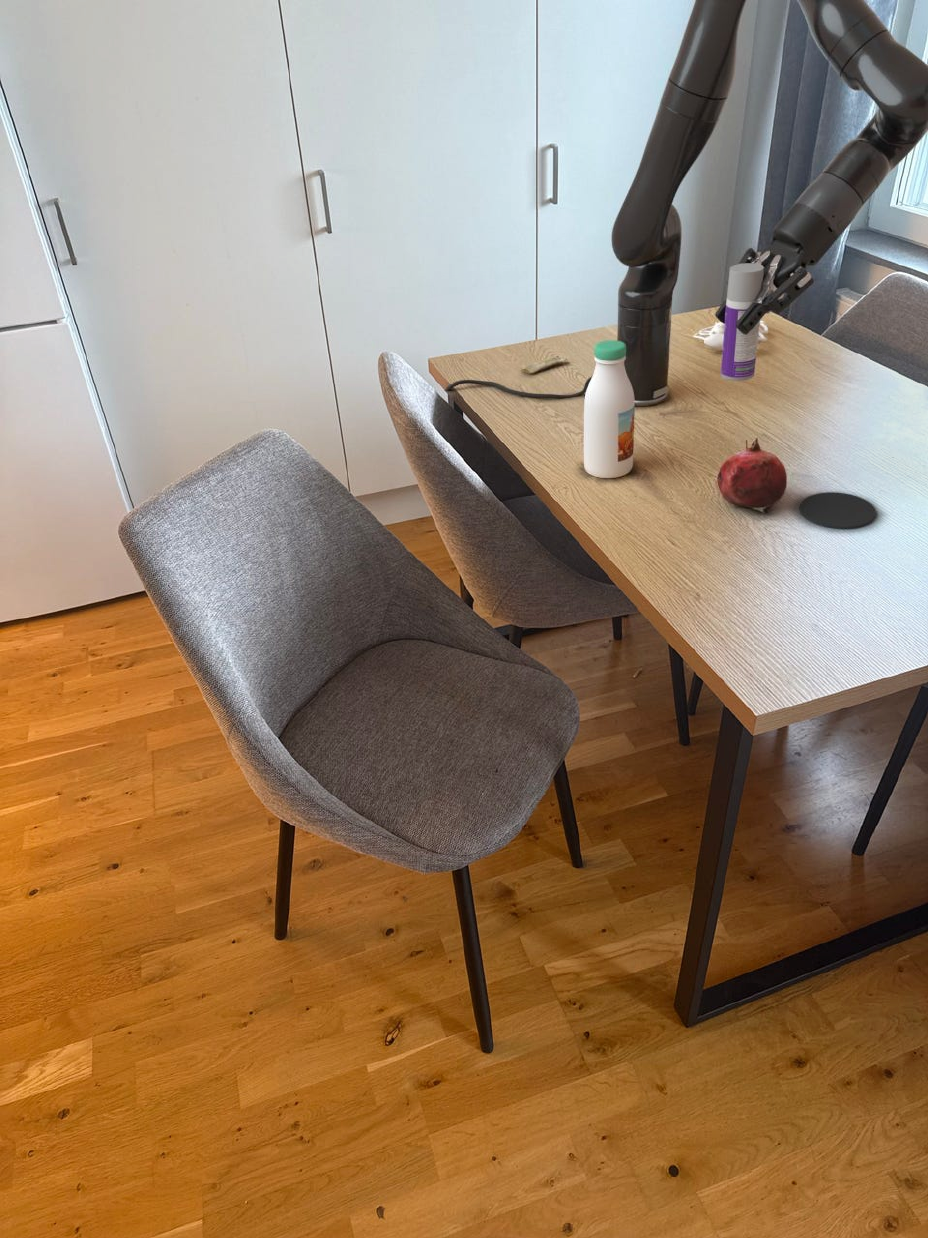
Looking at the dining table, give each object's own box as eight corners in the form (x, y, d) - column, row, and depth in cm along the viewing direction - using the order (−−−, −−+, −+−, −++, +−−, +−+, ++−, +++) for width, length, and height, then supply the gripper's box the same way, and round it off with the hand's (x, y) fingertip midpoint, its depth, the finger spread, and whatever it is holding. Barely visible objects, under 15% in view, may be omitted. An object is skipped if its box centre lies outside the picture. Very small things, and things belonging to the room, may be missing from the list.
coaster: (790, 519, 127) (791, 517, 127) (810, 489, 134) (811, 487, 133) (865, 535, 122) (866, 532, 122) (882, 502, 129) (883, 500, 129)
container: (716, 371, 133) (724, 265, 124) (747, 367, 133) (757, 261, 124) (726, 382, 129) (735, 273, 120) (759, 378, 129) (770, 269, 121)
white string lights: (710, 328, 198) (710, 308, 196) (779, 327, 191) (780, 307, 189) (687, 355, 184) (686, 335, 182) (760, 355, 177) (761, 334, 175)
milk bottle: (601, 484, 140) (603, 357, 128) (574, 466, 146) (573, 343, 134) (642, 470, 143) (647, 345, 131) (614, 453, 148) (616, 332, 137)
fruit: (773, 525, 126) (782, 459, 120) (706, 511, 131) (712, 447, 125) (792, 496, 132) (801, 432, 126) (728, 484, 137) (734, 422, 131)
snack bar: (530, 372, 179) (521, 364, 181) (528, 378, 181) (520, 370, 182) (568, 359, 183) (559, 351, 185) (566, 365, 184) (558, 357, 186)
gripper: (771, 192, 125) (688, 296, 130) (836, 210, 114) (742, 323, 119) (800, 227, 129) (718, 326, 134) (865, 247, 118) (773, 355, 123)
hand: (730, 324), depth 126 cm, fingers closed on container, 4 cm apart
